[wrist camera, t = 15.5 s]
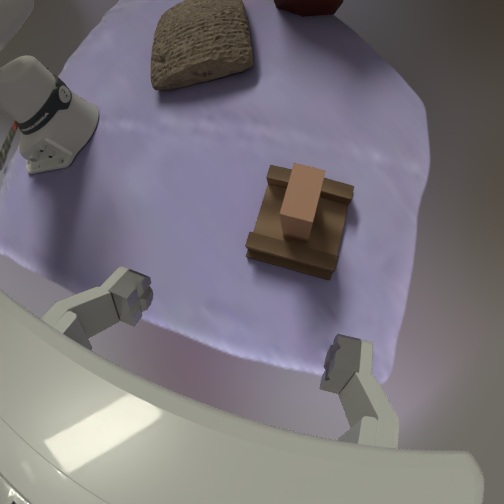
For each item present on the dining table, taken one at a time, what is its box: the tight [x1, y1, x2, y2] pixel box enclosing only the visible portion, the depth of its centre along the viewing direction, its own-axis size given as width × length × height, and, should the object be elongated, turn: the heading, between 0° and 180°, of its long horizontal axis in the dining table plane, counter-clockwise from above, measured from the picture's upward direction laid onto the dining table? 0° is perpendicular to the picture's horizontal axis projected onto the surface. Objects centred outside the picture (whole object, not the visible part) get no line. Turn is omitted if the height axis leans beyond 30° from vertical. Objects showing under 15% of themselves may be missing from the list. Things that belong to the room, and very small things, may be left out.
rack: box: [245, 165, 354, 280], centre depth 40 cm, size 14×12×3 cm
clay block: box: [280, 163, 325, 243], centre depth 36 cm, size 6×4×11 cm, turn 163°
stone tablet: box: [151, 0, 253, 90], centre depth 48 cm, size 20×8×30 cm
